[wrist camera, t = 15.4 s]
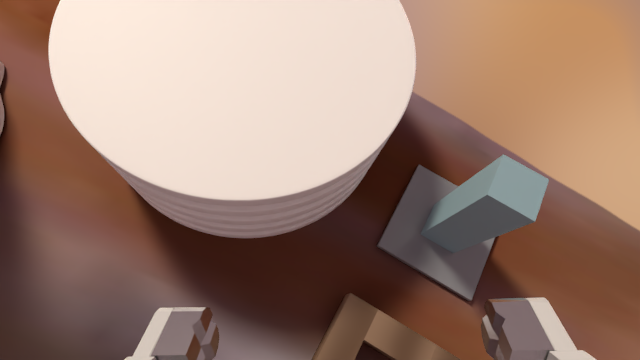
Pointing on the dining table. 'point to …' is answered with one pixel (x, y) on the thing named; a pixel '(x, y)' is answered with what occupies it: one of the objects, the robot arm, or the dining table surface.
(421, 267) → the coaster
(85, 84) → the plate stack
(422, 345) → the holder
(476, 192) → the peg
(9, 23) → the dining table surface
